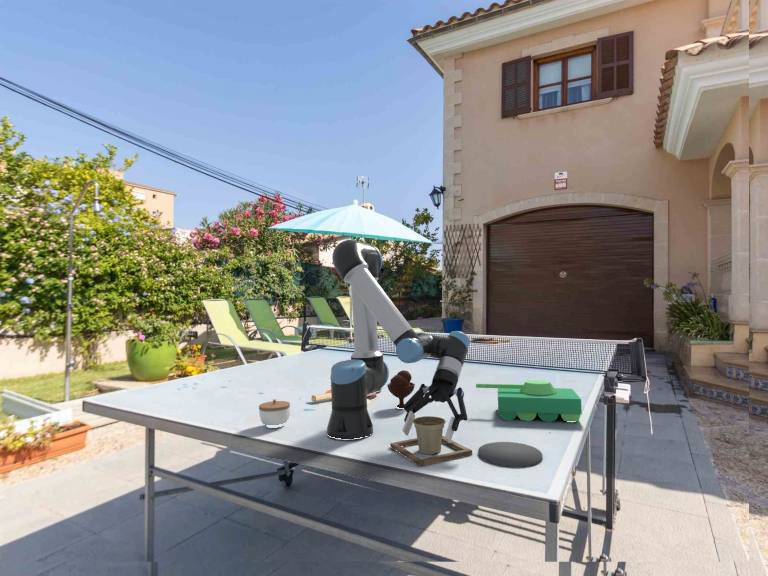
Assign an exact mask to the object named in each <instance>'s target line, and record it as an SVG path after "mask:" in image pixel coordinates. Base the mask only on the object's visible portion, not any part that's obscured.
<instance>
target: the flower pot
mask: <svg viewBox="0 0 768 576" xmlns="http://www.w3.org/2000/svg"><path fill="white" fill-rule="evenodd" d="M446 422H447V421H446V419H444V418H442V417H438V416H430V415H429V416H427V415H426V416H419V417H415V418H414V420H413V426H414V428H415V433H416V438H417V440H418V444H417V445H418V451H419V452H421V453H422V454H424V453H425V455H434V454H439V453H440V452H441V450H442V442H441V441H442V436H443V431H444V427H445V424H446Z"/></svg>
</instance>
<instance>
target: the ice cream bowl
mask: <svg viewBox="0 0 768 576" xmlns="http://www.w3.org/2000/svg"><path fill="white" fill-rule="evenodd" d="M412 378H413V377H412V374H411V373H410V372H409V371H407V370H404V369H403V370H399V371H398V372H397V374H395V375H394V376H392V378H390V382H389V383H388V384H386V385H387V389H388V392H390V394H391V395H392V396H394V397H396V398H398V400H399V403H398V404H397V405H396V406H397V407H399V408H403V406H404V404H405V401H404V399H405V398H407V397H408V396H410V395H411V394H412V393H413V392H414V390H415V385H416V384H415V383H413V382H411V381H412Z"/></svg>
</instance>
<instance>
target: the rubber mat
mask: <svg viewBox="0 0 768 576" xmlns="http://www.w3.org/2000/svg"><path fill="white" fill-rule="evenodd" d="M477 455H478V457H479V458H480V459H481V460H483V461H484V462H486V463H489V464H492V465H495V466H498V467H499V466H501V467H506V468H507V467H509V468H525V467H532V466H536V465H538V464H539V463H541V462H542V461H543V452H542V451H540V450H539V449H538V448H536V447H534V446H532V445H529V444H526V443H519V442H514V441H513V442H511V441H496V442H495V441H494V442H489V443H485V444H482V445H481V446H480V447H478V449H477Z"/></svg>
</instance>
